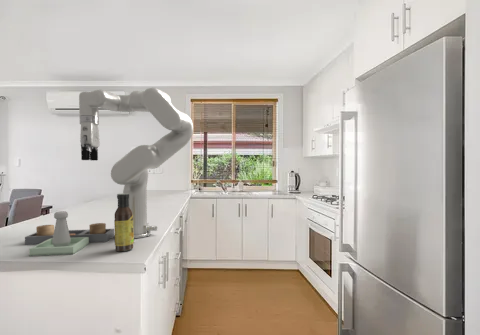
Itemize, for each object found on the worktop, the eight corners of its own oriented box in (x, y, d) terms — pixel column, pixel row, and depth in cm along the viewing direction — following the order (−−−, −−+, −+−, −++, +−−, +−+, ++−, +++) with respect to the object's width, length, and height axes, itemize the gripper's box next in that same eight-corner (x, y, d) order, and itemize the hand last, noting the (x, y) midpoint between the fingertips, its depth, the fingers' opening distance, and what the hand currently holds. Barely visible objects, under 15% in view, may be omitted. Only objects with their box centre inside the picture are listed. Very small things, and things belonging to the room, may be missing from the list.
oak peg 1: (57, 239, 126) (56, 224, 126) (49, 242, 120) (49, 227, 120) (41, 239, 126) (41, 225, 126) (33, 243, 120) (33, 228, 120)
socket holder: (114, 235, 131) (114, 227, 131) (106, 241, 121) (106, 233, 121) (39, 238, 128) (38, 230, 127) (24, 244, 118) (24, 236, 117)
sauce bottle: (136, 250, 108) (135, 193, 108) (117, 253, 105) (116, 195, 104) (130, 246, 114) (129, 192, 113) (113, 249, 110) (112, 193, 110)
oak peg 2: (107, 237, 129) (107, 222, 129) (103, 240, 123) (102, 225, 123) (92, 237, 128) (92, 223, 128) (87, 241, 122) (87, 226, 122)
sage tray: (88, 243, 118) (88, 237, 118) (73, 254, 104) (73, 246, 104) (50, 245, 117) (50, 238, 117) (29, 256, 103) (29, 248, 103)
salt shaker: (62, 250, 107) (61, 213, 107) (48, 249, 108) (47, 212, 108) (74, 245, 113) (73, 210, 113) (61, 245, 114) (60, 210, 114)
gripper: (91, 118, 126) (91, 160, 126) (104, 123, 143) (105, 160, 143) (71, 118, 125) (72, 160, 125) (87, 123, 142) (88, 160, 142)
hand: (90, 160), depth 134 cm, fingers open, 9 cm apart
